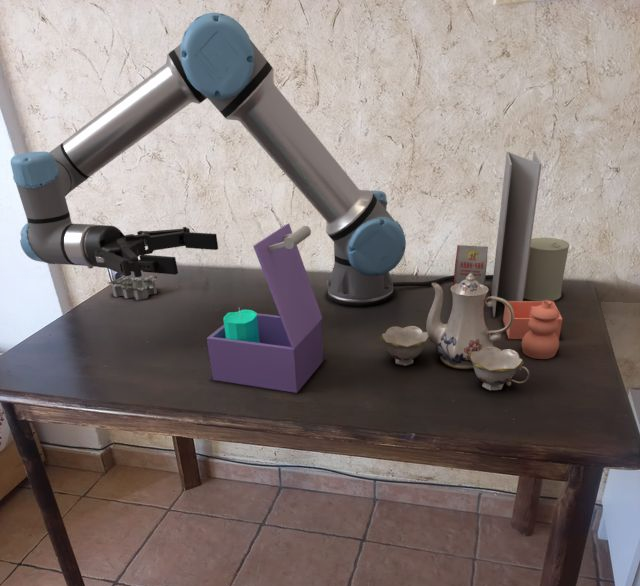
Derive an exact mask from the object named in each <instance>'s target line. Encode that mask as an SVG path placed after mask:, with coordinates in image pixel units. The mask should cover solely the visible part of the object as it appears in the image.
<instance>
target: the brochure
mask: <svg viewBox="0 0 640 586" xmlns="http://www.w3.org/2000/svg"><path fill="white" fill-rule="evenodd" d="M542 165H543V164H542V163H541V160H540V158H539V156H538V154H537V152H536V151H535V150H533V152H532V159H529V158H526V157H523V156H521V155H518V154H516V153H513V152H510V151H506V154H505V164H504V171H503V183H502V191H501V200H500V208H499V209H500V210H499V220H498V227H497V228H498V229H497V238H496V248H495V254H494V256H495V257H494V265H493V274H492V275H493V279H492V282H491V283H492V284H491V291H490V293H491V296H494V297H499V298H503V299H505V300H506V301H524V298H523V296H524V289H525V282H526V274H527V267H528V260H529V253H530V245H531V239H533V238H532V237H533V232H534V231H533V230H534V224H535V223H534V222H535V215H536V208H537V201H538V194H539V186H540V180H541V173H542ZM491 300H492V301H493V306H492V317H493V318H496V308H497V301H496V300H493V299H491ZM503 305H504V306H505V304H503Z"/></svg>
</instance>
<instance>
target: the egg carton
mask: <svg viewBox="0 0 640 586" xmlns="http://www.w3.org/2000/svg"><path fill="white" fill-rule="evenodd" d="M157 279H158V277H157V275H147V276H146V277H145V276H144V277H141V278H140V277H132V278H130V277H129V276H123V278H122V277H119V278H117V279H112V280H111V281H107V283H108V284H109V285H110V286H111V290H112V295H113V297H115V298H118V297H122V296H123V297H124V299H132V298H135V300H136V301H140V300H146V299H148V298H149V296H150V295H156V294H157V293H158V291H157V290H158V289H157V286H156V283H155V282H156V280H157Z"/></svg>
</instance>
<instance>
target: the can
mask: <svg viewBox="0 0 640 586" xmlns="http://www.w3.org/2000/svg"><path fill="white" fill-rule="evenodd" d="M569 248H570V243H569V241H567V240H564V239H561V238H556V237H534V238H531V245H530V253H529V260H528V267H527V274H526V282H525V289H524V296H523V300H526V301H554V302H555V301H557V300H559V299H560V298H561V297H562V290H563V289H562V288H563V282H564V278H565V277H564V276H565V270H566V264H567V260H568V254H569Z"/></svg>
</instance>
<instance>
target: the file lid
mask: <svg viewBox="0 0 640 586" xmlns="http://www.w3.org/2000/svg"><path fill="white" fill-rule="evenodd" d="M311 234H312V230H311V228H310V227H309V226H308V225H302V226H301V227H300V228H298V229H297V230H295V231H294V232H293V230H292V227H291V225H290V223H286V224H284V225H282V226H281V227H280V228H278V229H276V230H275V231H273V232H272V233H270V234H269V235H267V236H266V237H264V238H263V239H261V240H259V241H258V242H257V243H255V244H253V249H254V251H255V255H256V257H257V260H258V263H259V265H260V268H261V270H262V273H263V275H264V278H265V281H266V283H267V286H268V288H269V291H270V294H271V296H272V299H273V302H274V304H275V307H276V310H277V312H278V314H279V315H278V316H280V317H281V320H282V323H283V325H284V328H285V330H286V333H287V336H288V338H289V341H290V344H291V346H292V348H294V347H296V346H297V345H298V344H299V342H300V341H301V340H302V339H303V338H304V337H305V336H306V335H307V334H308V333H309V332H310V331H311V330H312V329H313V328H314V327H315V326H316V324H317V323H318V322H319V321H320V320H321V321H322V319H323V316H322V313H321V310H320V307H319V304H318V302H317V299H316V295H315V293H314V291H313V287H312V284H311V282H310V279H309V276H308V273H307V270H306V268H305V267H306V266H305V264H304V261H303V258H302V255H301V253H300V249H299V247H298V245H299V244H300V243H302V242H303V241H304V240H306V239H307V238H309V236H311Z"/></svg>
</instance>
